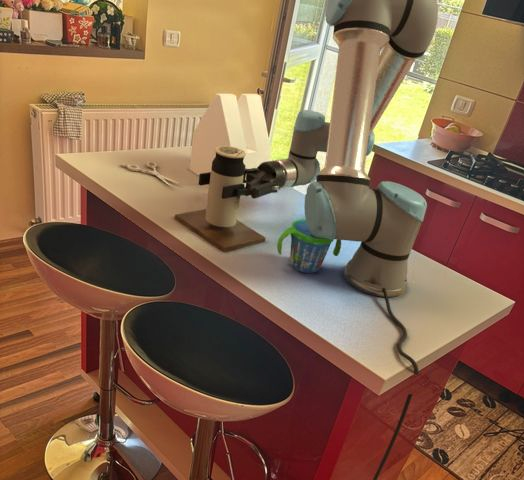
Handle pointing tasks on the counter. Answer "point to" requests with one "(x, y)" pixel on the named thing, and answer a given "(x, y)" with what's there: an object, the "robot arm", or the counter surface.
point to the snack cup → (306, 247)
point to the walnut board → (220, 231)
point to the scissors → (154, 172)
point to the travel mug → (224, 174)
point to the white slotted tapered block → (231, 131)
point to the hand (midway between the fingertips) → (211, 186)
